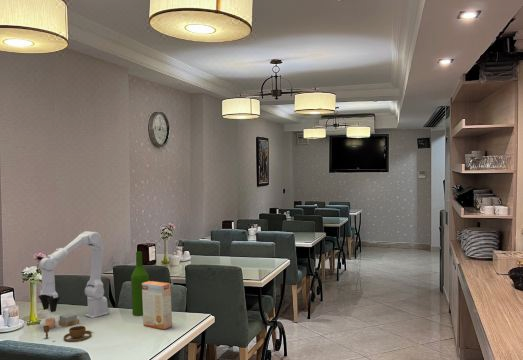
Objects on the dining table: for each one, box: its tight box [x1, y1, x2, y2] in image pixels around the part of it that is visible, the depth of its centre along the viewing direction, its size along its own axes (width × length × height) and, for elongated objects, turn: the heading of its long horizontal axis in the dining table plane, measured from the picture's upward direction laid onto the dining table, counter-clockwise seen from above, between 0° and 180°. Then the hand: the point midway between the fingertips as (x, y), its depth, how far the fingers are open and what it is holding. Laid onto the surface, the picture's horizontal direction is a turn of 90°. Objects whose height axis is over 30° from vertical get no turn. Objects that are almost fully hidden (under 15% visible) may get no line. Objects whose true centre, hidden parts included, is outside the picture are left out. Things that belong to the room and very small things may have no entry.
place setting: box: [43, 325, 94, 343], centre depth 226 cm, size 18×20×6 cm
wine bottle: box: [130, 250, 150, 317], centre depth 259 cm, size 9×9×32 cm
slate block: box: [59, 312, 78, 323], centre depth 245 cm, size 6×6×2 cm
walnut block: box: [58, 318, 80, 328], centre depth 245 cm, size 7×7×2 cm
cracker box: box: [142, 280, 173, 331], centre depth 236 cm, size 14×6×21 cm, turn 55°
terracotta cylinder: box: [44, 317, 56, 330], centre depth 241 cm, size 4×4×4 cm
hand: (49, 310), depth 241 cm, fingers open, 7 cm apart
